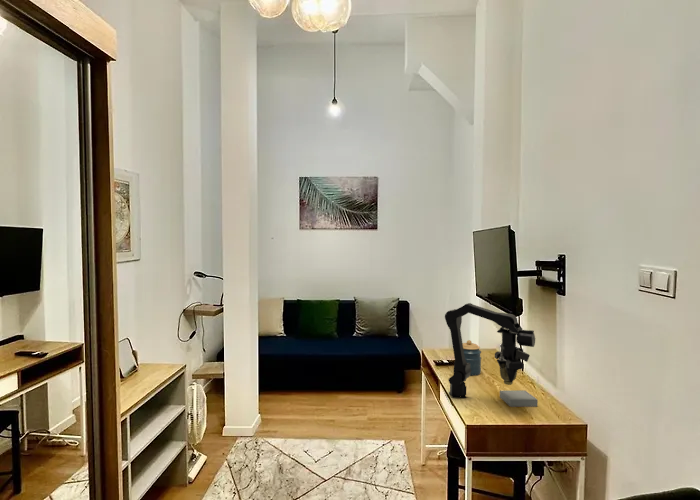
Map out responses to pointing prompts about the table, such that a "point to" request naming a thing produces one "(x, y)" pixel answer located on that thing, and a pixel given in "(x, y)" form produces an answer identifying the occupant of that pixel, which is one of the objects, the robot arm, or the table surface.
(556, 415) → the table surface
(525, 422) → the table surface
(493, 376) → the table surface
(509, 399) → the slate base
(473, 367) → the canister
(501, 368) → the cup
